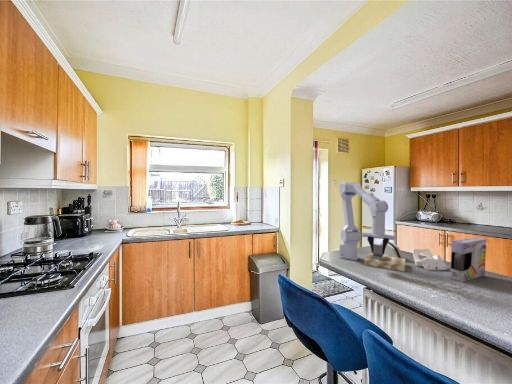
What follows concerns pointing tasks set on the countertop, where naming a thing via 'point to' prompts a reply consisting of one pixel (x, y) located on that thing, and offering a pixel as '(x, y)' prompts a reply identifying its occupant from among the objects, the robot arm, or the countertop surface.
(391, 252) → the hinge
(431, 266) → the mounting bracket
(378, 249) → the t bracket
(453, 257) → the cake pan box
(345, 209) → the robot arm
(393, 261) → the well block
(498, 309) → the countertop surface
